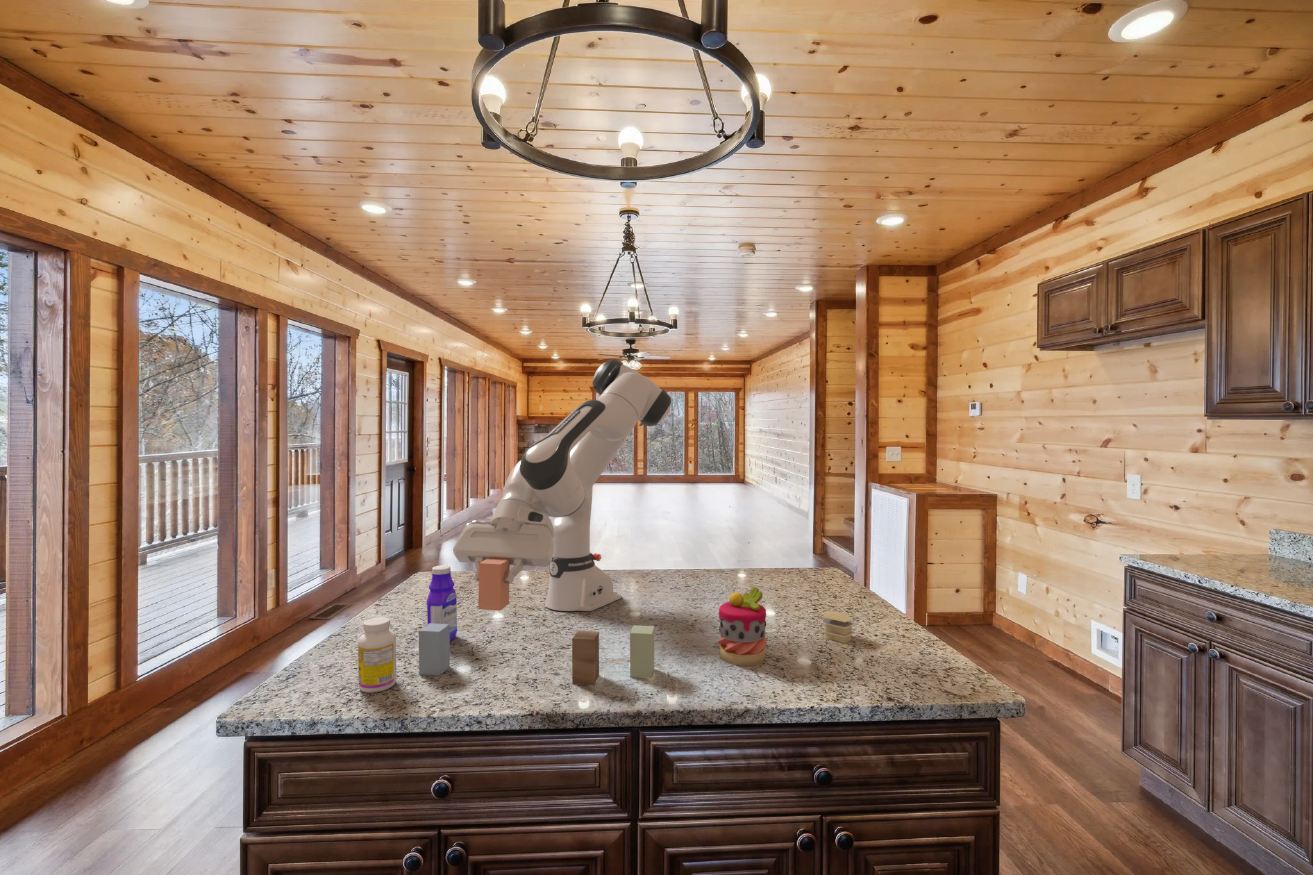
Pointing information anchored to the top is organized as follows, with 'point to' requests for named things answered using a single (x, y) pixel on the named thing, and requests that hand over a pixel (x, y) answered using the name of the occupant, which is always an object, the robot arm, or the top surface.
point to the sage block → (642, 651)
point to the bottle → (442, 599)
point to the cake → (743, 629)
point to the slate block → (434, 649)
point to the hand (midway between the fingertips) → (493, 581)
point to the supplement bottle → (377, 656)
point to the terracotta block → (493, 584)
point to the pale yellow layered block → (837, 626)
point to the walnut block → (585, 657)
